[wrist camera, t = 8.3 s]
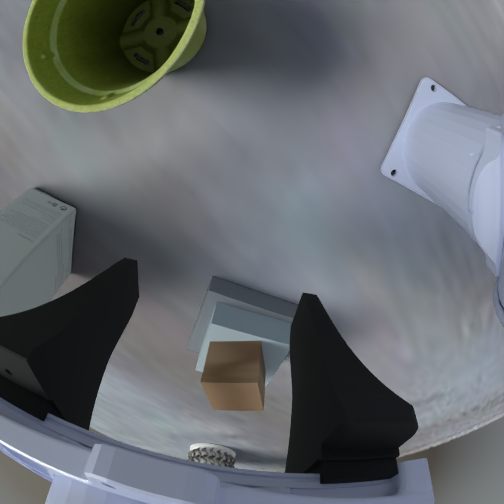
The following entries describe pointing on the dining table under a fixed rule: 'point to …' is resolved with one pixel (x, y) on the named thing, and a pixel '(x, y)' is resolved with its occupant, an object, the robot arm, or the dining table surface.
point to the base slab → (239, 299)
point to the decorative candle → (212, 454)
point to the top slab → (248, 334)
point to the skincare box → (34, 250)
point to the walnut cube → (235, 375)
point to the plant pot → (107, 48)
